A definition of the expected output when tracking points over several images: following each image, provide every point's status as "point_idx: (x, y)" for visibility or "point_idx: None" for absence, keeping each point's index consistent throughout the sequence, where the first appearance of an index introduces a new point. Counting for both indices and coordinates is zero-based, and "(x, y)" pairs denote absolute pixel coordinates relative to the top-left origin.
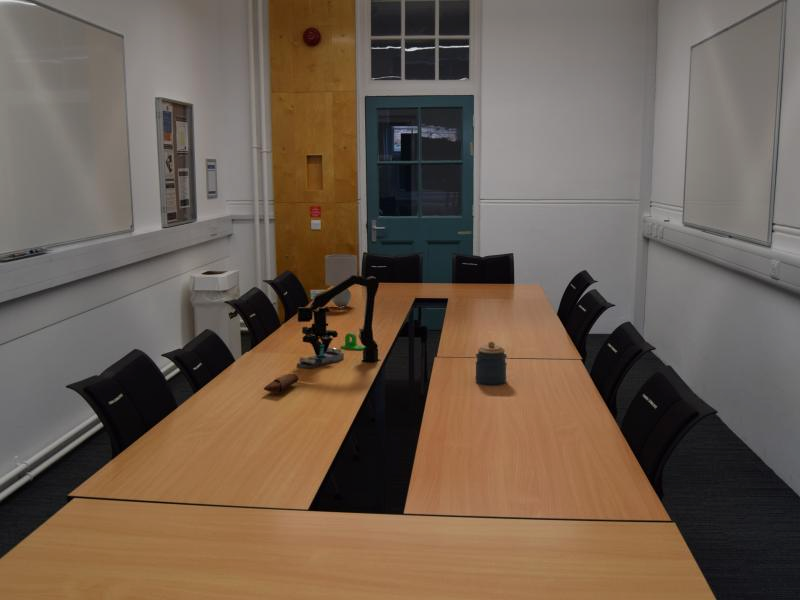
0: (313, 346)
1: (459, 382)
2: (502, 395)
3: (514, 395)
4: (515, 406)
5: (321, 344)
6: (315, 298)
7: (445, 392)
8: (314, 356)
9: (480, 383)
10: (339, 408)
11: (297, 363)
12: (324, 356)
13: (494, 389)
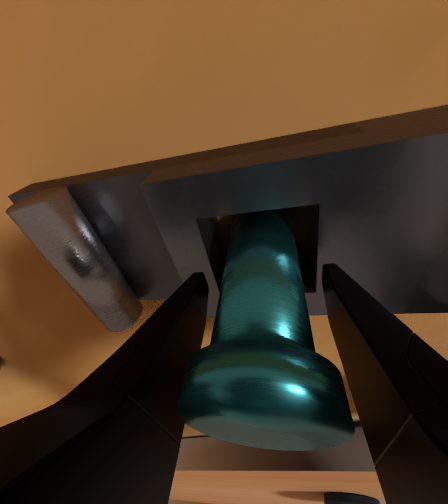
0: (107, 378)
1: (323, 485)
2: (290, 496)
3: (300, 499)
4: (258, 496)
5: (247, 436)
6: None
7: (250, 477)
8: (221, 205)
9: (325, 497)
10: None
11: (15, 195)
12: (316, 257)
13: (313, 495)
